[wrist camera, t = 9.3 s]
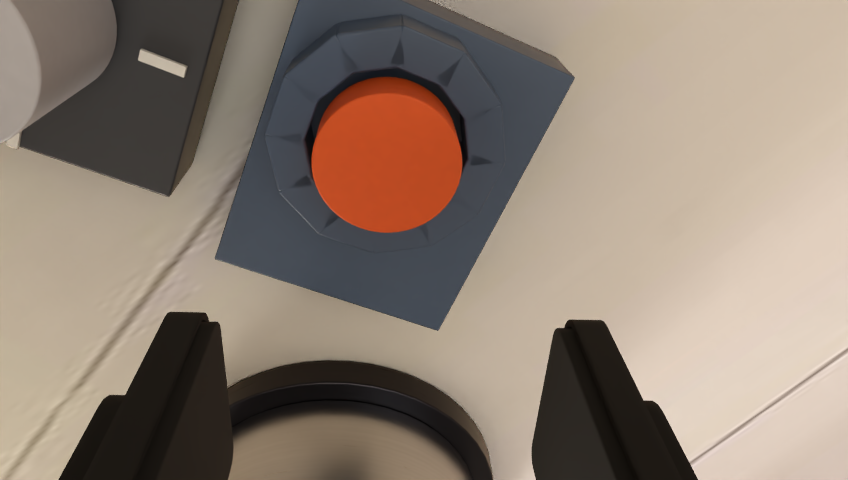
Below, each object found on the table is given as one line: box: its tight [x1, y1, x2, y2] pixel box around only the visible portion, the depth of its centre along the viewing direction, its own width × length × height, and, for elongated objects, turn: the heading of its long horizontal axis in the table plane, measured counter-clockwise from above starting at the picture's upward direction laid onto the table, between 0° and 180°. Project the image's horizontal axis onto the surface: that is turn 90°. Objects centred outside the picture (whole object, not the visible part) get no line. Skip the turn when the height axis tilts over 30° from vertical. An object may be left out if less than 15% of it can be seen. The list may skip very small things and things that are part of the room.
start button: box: [312, 77, 462, 233], centre depth 20 cm, size 4×4×2 cm
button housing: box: [215, 0, 575, 331], centre depth 23 cm, size 9×11×4 cm
